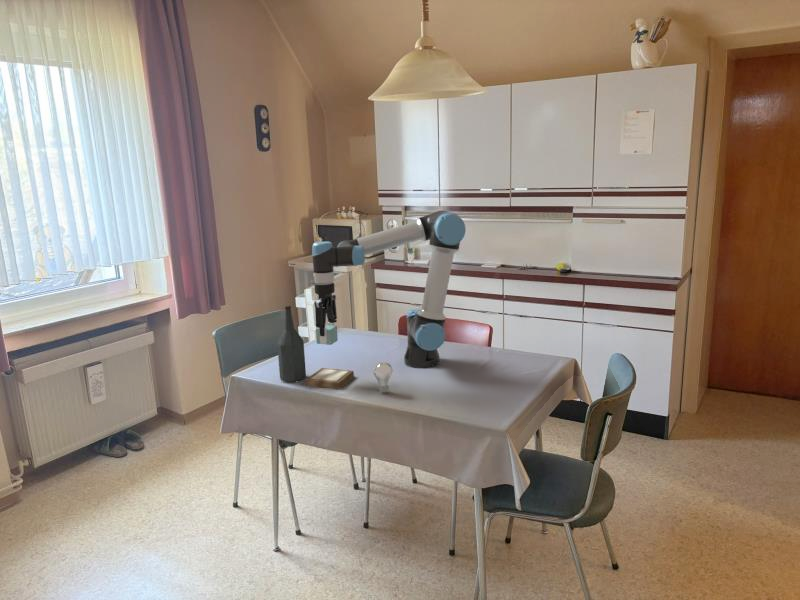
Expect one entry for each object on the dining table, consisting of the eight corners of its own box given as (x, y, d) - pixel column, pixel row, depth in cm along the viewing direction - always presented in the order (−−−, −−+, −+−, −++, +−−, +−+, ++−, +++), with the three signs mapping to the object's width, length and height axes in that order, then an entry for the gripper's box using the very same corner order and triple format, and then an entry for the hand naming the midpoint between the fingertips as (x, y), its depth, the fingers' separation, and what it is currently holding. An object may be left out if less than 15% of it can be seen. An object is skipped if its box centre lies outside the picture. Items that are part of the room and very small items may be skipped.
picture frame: (353, 376, 244) (353, 370, 244) (338, 389, 231) (338, 382, 231) (322, 373, 249) (322, 367, 248) (306, 385, 236) (305, 379, 235)
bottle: (297, 384, 238) (292, 309, 231) (275, 381, 242) (269, 308, 235) (310, 375, 248) (305, 303, 241) (289, 373, 251) (283, 302, 244)
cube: (337, 340, 238) (336, 325, 237) (330, 344, 233) (330, 329, 232) (323, 339, 240) (323, 324, 239) (316, 343, 235) (316, 328, 234)
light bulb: (378, 397, 222) (377, 366, 219) (371, 391, 228) (370, 360, 225) (396, 394, 224) (395, 363, 222) (389, 388, 231) (387, 357, 228)
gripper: (326, 277, 241) (329, 333, 246) (303, 287, 224) (307, 347, 229) (343, 278, 239) (346, 335, 244) (321, 288, 221) (325, 349, 227)
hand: (327, 341), depth 236 cm, fingers closed on cube, 6 cm apart
